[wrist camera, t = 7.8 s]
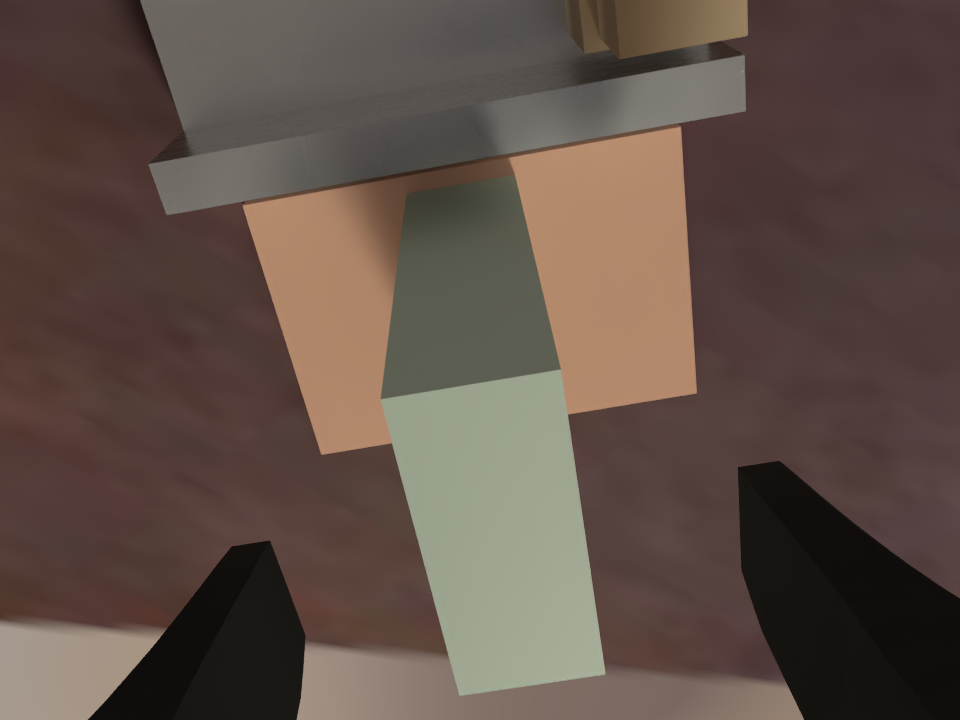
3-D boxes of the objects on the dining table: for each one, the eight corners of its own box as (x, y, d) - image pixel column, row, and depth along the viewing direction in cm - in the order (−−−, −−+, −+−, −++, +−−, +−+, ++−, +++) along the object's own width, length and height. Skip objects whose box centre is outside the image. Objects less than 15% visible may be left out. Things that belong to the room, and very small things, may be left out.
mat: (677, 123, 20) (680, 126, 19) (693, 387, 23) (696, 393, 23) (245, 201, 20) (242, 205, 20) (323, 448, 23) (321, 454, 23)
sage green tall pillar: (514, 174, 20) (561, 369, 12) (549, 397, 23) (605, 674, 15) (406, 193, 20) (380, 399, 12) (454, 413, 23) (459, 695, 15)
